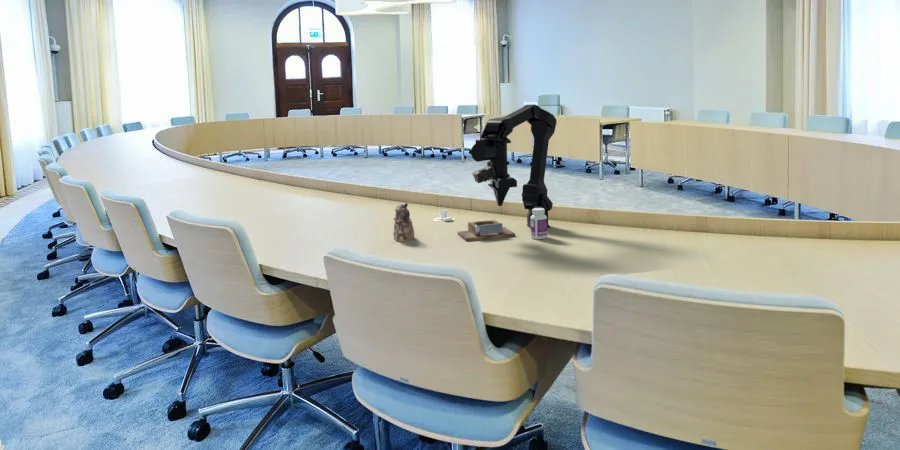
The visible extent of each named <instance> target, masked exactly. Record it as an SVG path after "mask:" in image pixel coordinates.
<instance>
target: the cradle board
mask: <svg viewBox="0 0 900 450" xmlns="http://www.w3.org/2000/svg"><path fill="white" fill-rule="evenodd" d="M496 223H500V222H499V221H497V220H496V219H489V220H478V221H468V222H467V229H468V230H460V231H459V230H458V231H457V235H458V236H459V237H460V238H462V240H463V241H465V242H473V241H481V240H482V241H484V240H492V239H494V240H495V239H504V238H512V237H516V233H515V232H513V230H510V228H507V227H506V226H502V228H503V232H502V233H492V234H482V235H475V225H486V224H496Z"/></svg>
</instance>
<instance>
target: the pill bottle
mask: <svg viewBox="0 0 900 450" xmlns="http://www.w3.org/2000/svg"><path fill="white" fill-rule="evenodd" d="M532 213H533V215H532V216H531V218H530V220H531V227H530V238H531V239H533V240H544V239H547V238H548V227H547V216H546V215H544V213H545V209H544V208H534V209H532Z"/></svg>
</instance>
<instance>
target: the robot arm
mask: <svg viewBox="0 0 900 450" xmlns="http://www.w3.org/2000/svg"><path fill="white" fill-rule="evenodd" d="M525 122H526V123H528V124H529V125H530V131H531V134H532V136H533V139H534V141H533V150H532V155H531V156H532V158H531V165H530V173H529V180H528V182H527V183H523V185H522V193H521V195H520V196H521V200H522V204H523V208H524V210H528V213H526V215H527V216H526V219H527V220H526V226H527V227H529V228H531V220H530V218H531V216H532V215H533V213H532V209H534V208H544V209H545V213H544V215H546V216H547V228H551V225H550V224H549V212H550V211H552V209H553V201H552V200H551V199H550V197H549V196H548V188H547V186H546V183H545V175H546V167H547V158H548V150H549V149H548V148H549V141H550V139H551V138H552V137H553V135H554V134H555V130H556V126H557V118H556V117H555V115H554V114H552V113H551V112H549V111H548V110H546V109H543V108H541V107H540V106H539V105H537V104H525V105H523V107H520V108H518V109H517V110H514V111H512V112H511V113H509V114H506V115H505V116H501V117H495V118H490V119H488V120H487V121H486V124H485V126H484V129H483V131H482V133H481V136H480V137H479V139H475V143H474V144H473V145H472V147H471V150H470V154H471V158H472V160H474V161H475V162H478V163H479V162H480V163H481V162H485V161H487V162H486V166H484V167H482V168H480V169H477V170H475V171H473V172H472V173H471V174H472V177H473V180H475V182H476V183H477V184H481V183H486V182H487V181H489V183H487V186H488V187H490V189H492V190H493V194H494V198H495V201H496V205H497V206H498V207H502V206H503V204H504V201H505V199H506V197H507V194H508V192H509V190H510V188H517V187H518V181H517V179H515V178H514V177H512V176H511V175H510V173H509V172H508V171H509V170H508V169H509V168H508V166H509V165H510V161H508V144H511V143H512V140H510V138H508V136H509V135H511V134H512V133H513V132H514V129H515V127H518V126H520V125H522V124H523V123H525Z"/></svg>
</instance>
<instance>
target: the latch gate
mask: <svg viewBox="0 0 900 450" xmlns="http://www.w3.org/2000/svg"><path fill="white" fill-rule="evenodd" d="M502 227H503V223H502V222H499V223H496V224H486V225H475V235H482V234H492V233H502V232H503V228H502Z"/></svg>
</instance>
